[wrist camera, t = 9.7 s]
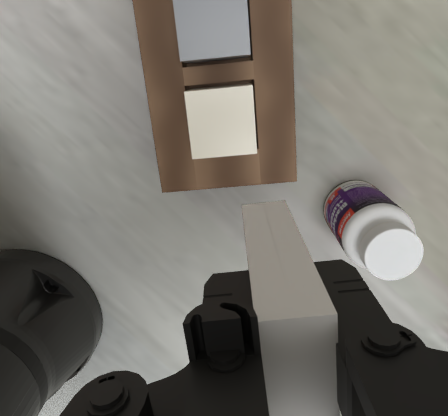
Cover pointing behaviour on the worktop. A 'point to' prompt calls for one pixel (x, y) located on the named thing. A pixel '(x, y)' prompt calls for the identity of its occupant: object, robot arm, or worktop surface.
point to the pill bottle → (373, 230)
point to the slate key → (212, 30)
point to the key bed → (212, 77)
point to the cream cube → (221, 121)
